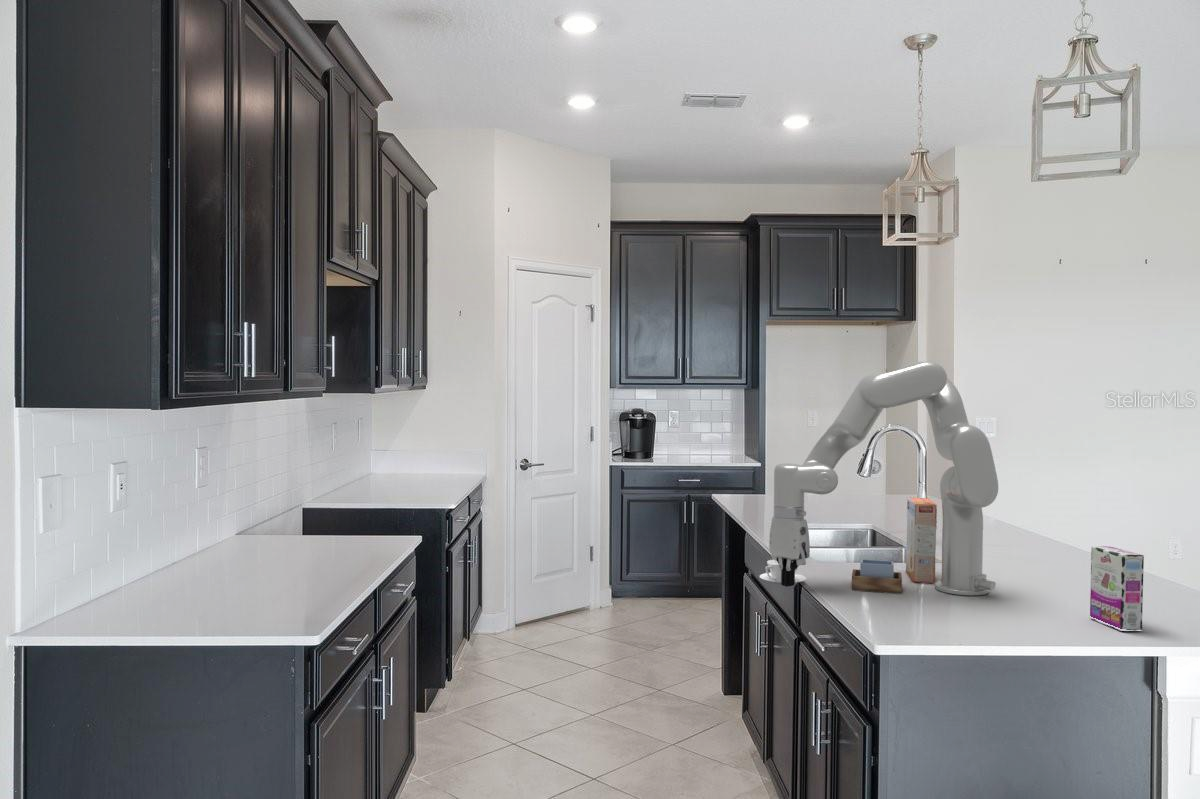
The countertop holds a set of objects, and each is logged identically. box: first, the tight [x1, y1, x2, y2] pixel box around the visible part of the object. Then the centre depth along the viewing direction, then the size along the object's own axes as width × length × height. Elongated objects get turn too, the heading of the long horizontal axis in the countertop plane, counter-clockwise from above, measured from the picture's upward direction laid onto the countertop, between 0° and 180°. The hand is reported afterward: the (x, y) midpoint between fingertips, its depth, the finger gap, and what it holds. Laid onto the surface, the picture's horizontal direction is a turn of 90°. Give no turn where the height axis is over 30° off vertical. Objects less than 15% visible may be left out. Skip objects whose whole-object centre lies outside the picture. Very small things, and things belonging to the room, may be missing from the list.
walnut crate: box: [851, 568, 903, 594], centre depth 230 cm, size 12×9×4 cm
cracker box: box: [905, 497, 938, 584], centre depth 243 cm, size 14×6×21 cm, turn 168°
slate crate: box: [859, 558, 895, 578], centre depth 230 cm, size 8×6×6 cm
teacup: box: [759, 559, 807, 585], centre depth 236 cm, size 12×12×5 cm
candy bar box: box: [1089, 545, 1145, 631], centre depth 196 cm, size 11×5×16 cm, turn 5°
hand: (787, 585), depth 228 cm, fingers closed
